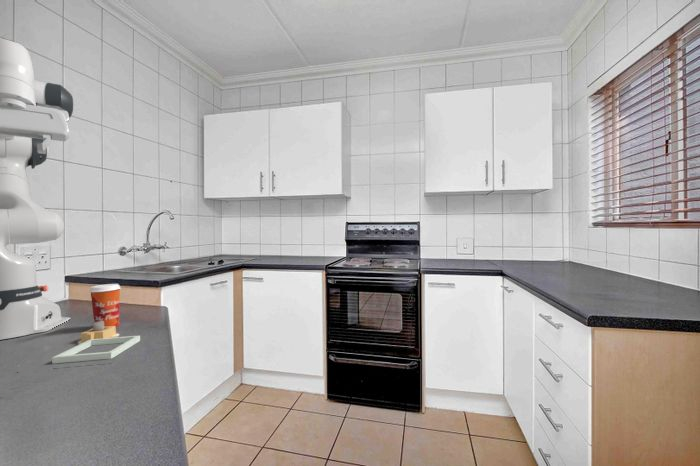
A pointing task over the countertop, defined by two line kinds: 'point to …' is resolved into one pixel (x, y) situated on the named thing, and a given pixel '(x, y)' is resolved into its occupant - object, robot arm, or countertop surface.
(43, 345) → the countertop surface
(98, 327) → the stand
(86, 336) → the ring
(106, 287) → the paper cup
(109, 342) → the tray
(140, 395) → the countertop surface
